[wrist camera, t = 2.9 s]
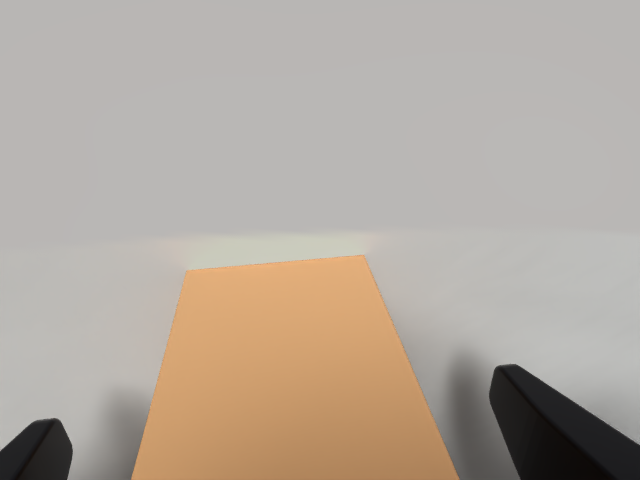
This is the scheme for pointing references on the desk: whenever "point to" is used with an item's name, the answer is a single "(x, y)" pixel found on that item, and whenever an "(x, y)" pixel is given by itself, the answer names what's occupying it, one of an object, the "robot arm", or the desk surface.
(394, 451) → the peg
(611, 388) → the desk surface
